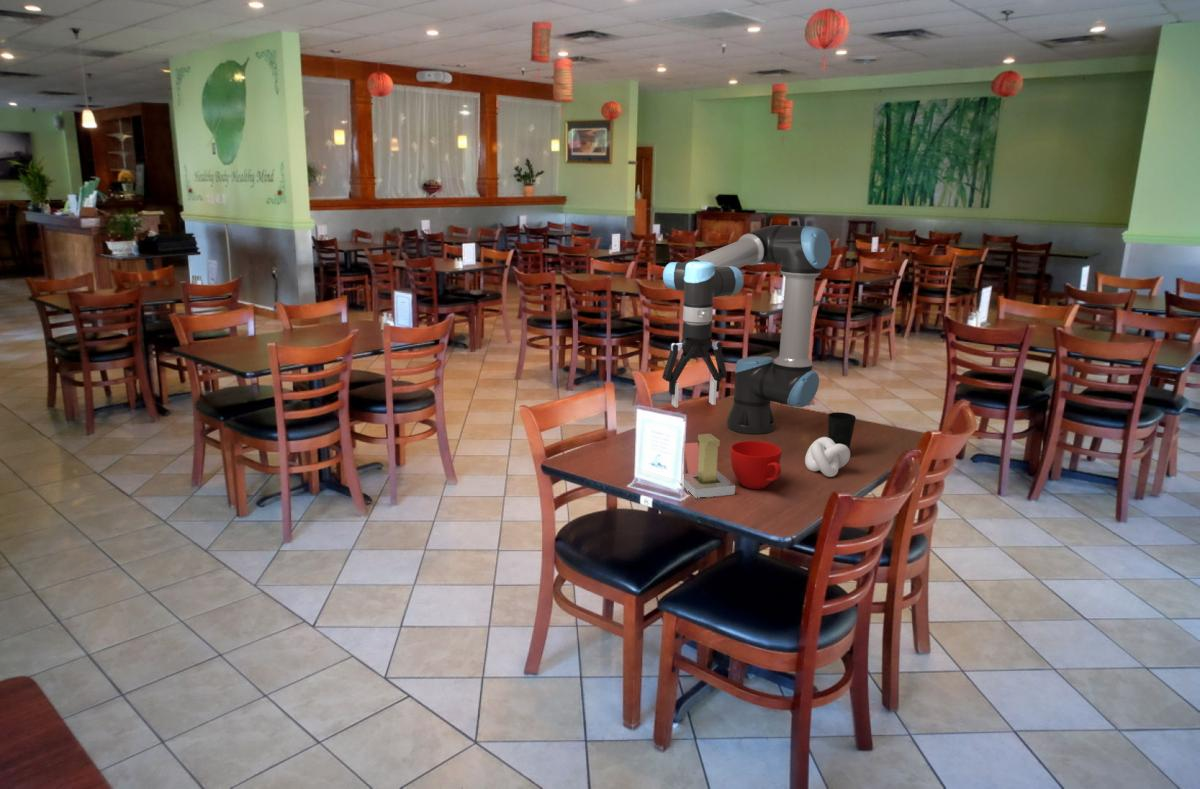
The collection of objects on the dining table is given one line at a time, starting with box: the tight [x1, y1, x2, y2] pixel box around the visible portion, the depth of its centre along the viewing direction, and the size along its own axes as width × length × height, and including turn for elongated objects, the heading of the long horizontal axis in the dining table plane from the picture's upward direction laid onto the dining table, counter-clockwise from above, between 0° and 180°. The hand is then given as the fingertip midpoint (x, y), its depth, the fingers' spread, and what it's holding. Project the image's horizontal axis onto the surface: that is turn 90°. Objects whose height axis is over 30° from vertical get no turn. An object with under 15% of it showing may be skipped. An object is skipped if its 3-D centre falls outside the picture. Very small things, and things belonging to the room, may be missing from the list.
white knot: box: [804, 436, 851, 478], centre depth 222 cm, size 11×12×9 cm
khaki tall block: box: [697, 433, 721, 484], centre depth 209 cm, size 6×4×14 cm, turn 16°
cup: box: [827, 411, 857, 456], centre depth 236 cm, size 8×8×12 cm
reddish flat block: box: [683, 441, 699, 473], centre depth 218 cm, size 10×5×2 cm
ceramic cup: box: [730, 440, 782, 490], centre depth 211 cm, size 13×17×10 cm
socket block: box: [683, 470, 736, 499], centre depth 210 cm, size 11×11×2 cm
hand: (693, 404), depth 215 cm, fingers open, 10 cm apart
